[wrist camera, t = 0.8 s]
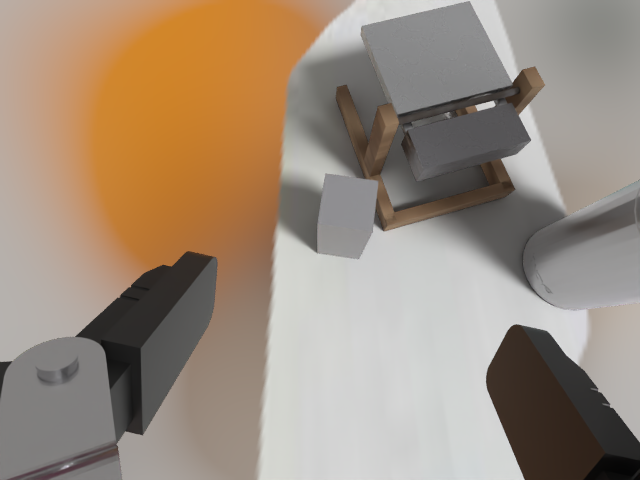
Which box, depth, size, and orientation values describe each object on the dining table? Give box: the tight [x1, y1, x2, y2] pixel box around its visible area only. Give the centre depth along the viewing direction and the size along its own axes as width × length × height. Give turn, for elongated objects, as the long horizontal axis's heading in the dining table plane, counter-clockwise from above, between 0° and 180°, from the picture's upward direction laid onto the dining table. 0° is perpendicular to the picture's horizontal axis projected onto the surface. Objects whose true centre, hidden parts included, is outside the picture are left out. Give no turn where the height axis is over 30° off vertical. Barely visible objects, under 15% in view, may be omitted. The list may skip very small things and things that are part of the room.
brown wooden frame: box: [336, 67, 545, 231], centre depth 37 cm, size 18×15×12 cm
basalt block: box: [317, 174, 378, 259], centre depth 34 cm, size 4×4×10 cm
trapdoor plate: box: [361, 1, 531, 182], centre depth 34 cm, size 15×11×3 cm
